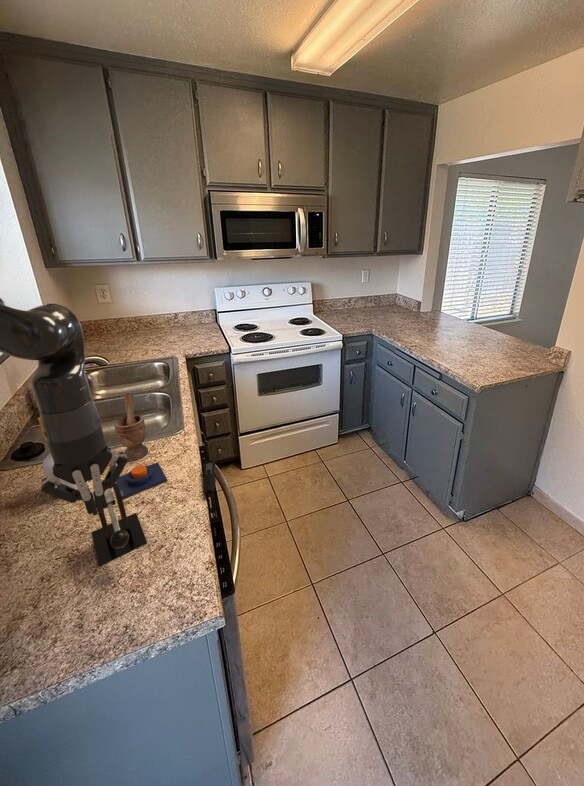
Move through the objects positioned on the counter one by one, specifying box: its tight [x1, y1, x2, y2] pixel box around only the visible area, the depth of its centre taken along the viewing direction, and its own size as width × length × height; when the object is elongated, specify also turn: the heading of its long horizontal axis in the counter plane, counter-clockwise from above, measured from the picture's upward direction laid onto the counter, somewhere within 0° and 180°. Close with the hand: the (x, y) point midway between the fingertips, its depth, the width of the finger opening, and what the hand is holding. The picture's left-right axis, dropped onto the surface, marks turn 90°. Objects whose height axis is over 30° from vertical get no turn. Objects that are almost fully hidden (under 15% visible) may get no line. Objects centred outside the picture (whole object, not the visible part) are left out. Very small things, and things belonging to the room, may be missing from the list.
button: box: [130, 464, 147, 479], centre depth 105 cm, size 4×4×2 cm
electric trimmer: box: [202, 458, 217, 495], centre depth 107 cm, size 4×16×3 cm, turn 16°
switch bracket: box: [91, 483, 148, 568], centre depth 84 cm, size 12×10×15 cm
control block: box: [115, 462, 168, 501], centre depth 105 cm, size 12×10×4 cm
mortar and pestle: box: [113, 392, 149, 462], centre depth 118 cm, size 12×9×20 cm
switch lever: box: [104, 489, 129, 548], centre depth 80 cm, size 13×4×4 cm, turn 38°
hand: (98, 511), depth 64 cm, fingers closed
